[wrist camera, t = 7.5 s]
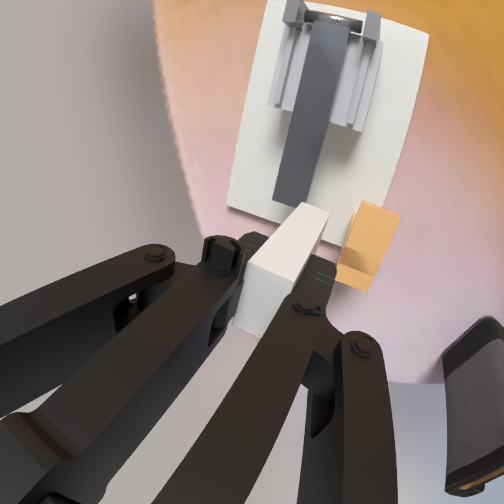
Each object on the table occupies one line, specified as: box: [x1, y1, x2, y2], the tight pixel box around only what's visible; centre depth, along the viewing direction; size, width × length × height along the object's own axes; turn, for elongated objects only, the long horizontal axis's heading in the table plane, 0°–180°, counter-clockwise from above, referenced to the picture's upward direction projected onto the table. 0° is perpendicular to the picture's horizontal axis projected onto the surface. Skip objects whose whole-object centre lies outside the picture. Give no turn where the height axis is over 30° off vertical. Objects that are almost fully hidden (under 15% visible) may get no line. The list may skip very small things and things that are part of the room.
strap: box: [272, 9, 363, 208], centre depth 20 cm, size 17×4×1 cm, turn 168°
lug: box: [335, 200, 400, 293], centre depth 24 cm, size 6×3×8 cm, turn 168°
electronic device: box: [442, 316, 504, 497], centre depth 20 cm, size 9×6×20 cm, turn 153°
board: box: [226, 0, 429, 247], centre depth 23 cm, size 24×16×8 cm, turn 168°
